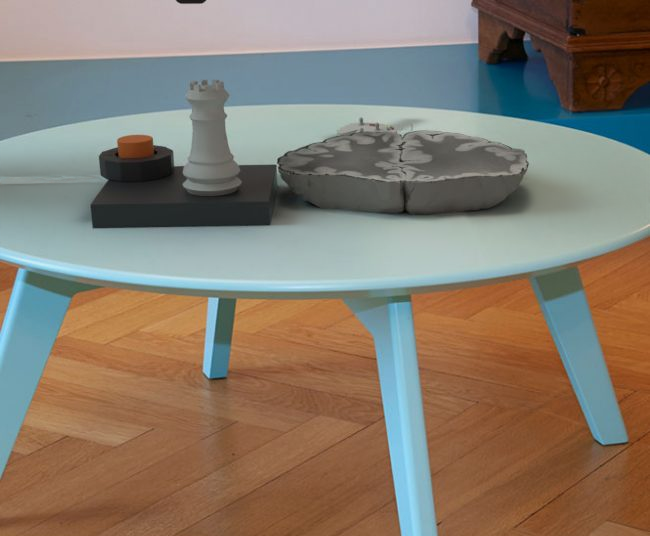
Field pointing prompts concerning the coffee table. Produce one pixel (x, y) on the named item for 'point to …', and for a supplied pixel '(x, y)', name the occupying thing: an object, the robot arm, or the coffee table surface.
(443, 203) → the brain slice
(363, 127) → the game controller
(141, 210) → the scale
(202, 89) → the rook chess piece
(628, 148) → the coffee table surface
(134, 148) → the button
